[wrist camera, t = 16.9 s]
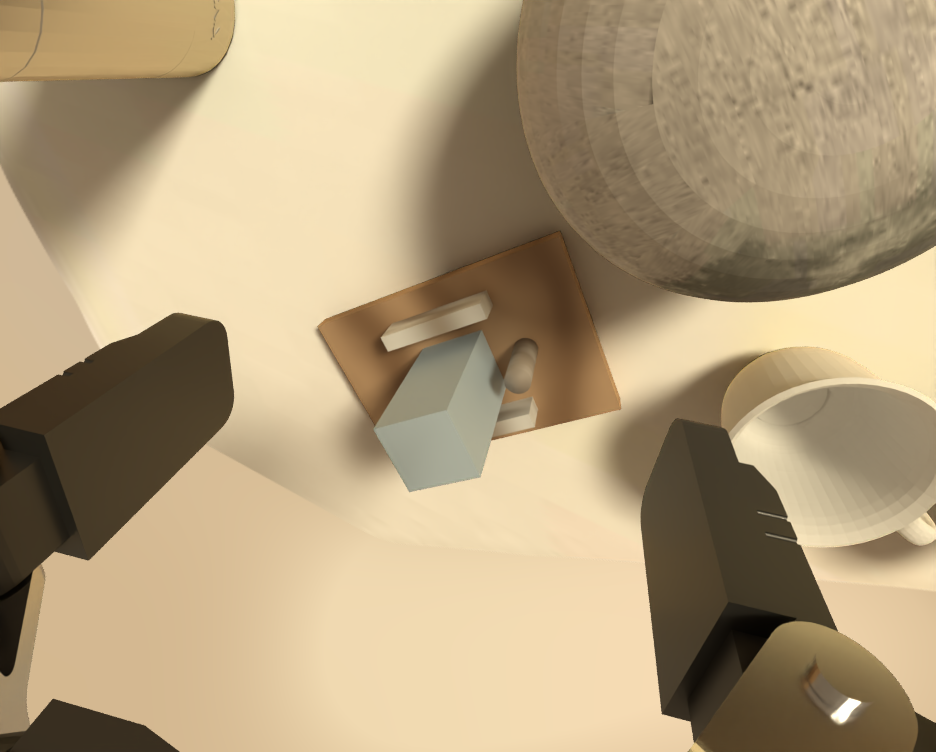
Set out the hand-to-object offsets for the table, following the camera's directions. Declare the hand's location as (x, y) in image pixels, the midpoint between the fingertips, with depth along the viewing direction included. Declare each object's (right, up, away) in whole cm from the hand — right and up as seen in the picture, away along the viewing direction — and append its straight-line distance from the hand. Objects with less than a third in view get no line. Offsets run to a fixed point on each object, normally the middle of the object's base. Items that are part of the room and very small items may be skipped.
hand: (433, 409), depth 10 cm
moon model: (+15, +19, +21) cm, 32 cm away
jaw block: (0, +1, +32) cm, 32 cm away
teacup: (+24, -1, +30) cm, 38 cm away
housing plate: (+1, +2, +34) cm, 34 cm away
